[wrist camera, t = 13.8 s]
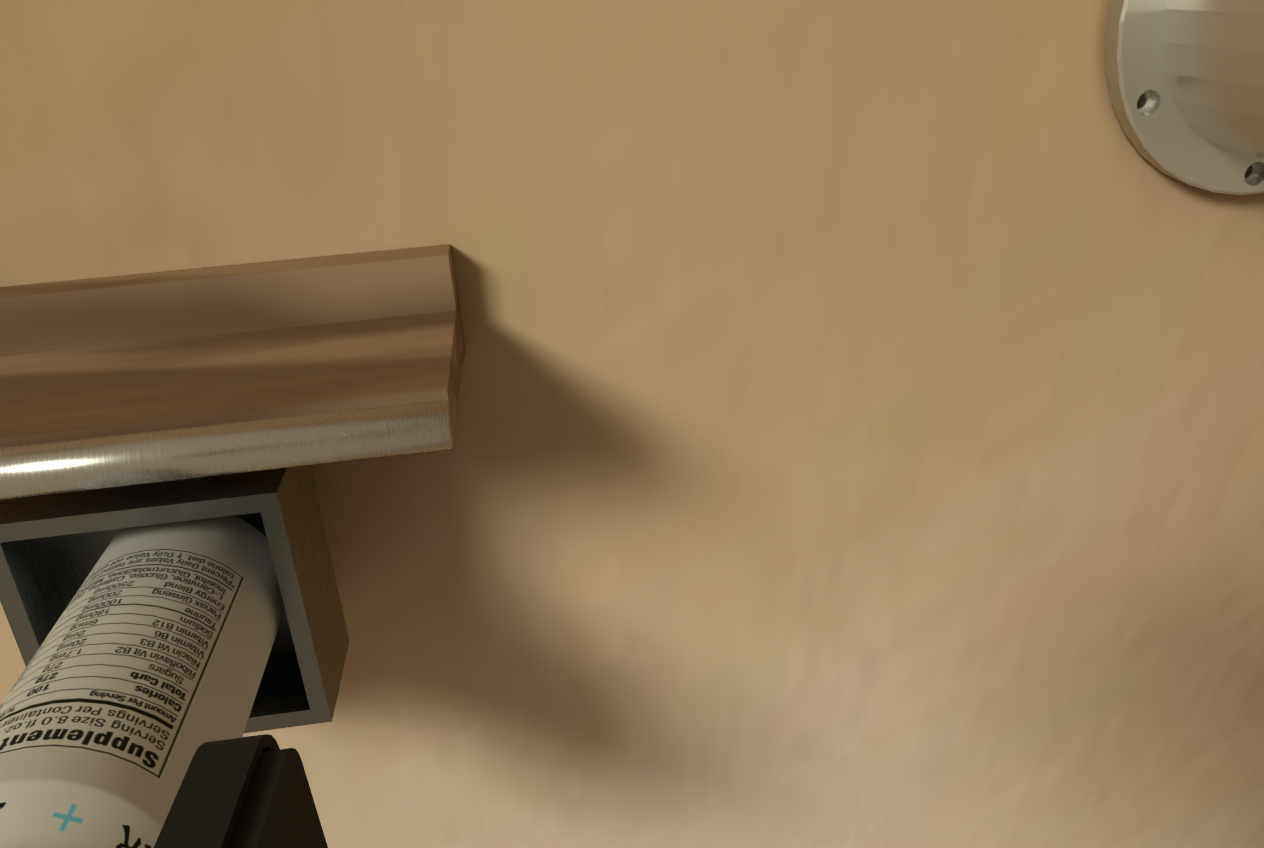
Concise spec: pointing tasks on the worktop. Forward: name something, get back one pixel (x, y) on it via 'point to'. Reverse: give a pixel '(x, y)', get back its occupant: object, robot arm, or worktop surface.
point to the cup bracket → (217, 426)
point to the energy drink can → (137, 684)
